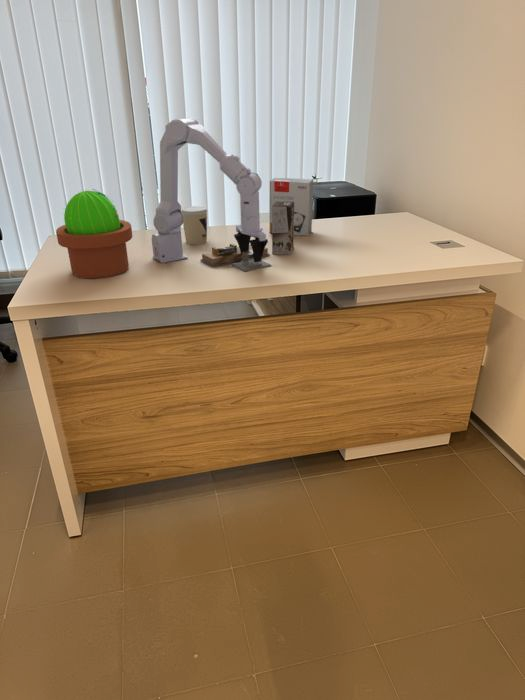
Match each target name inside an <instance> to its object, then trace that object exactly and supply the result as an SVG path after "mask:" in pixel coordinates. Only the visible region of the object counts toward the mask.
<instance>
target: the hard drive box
mask: <svg viewBox="0 0 525 700" xmlns="http://www.w3.org/2000/svg"><path fill="white" fill-rule="evenodd" d="M313 197H314V179H313V178H311V179H309V178H287V177H286V178H285V177H274V178H271V180H269V234H272V206H273V205H274V204H275V203H276V202H283V201H290V202H294V236H304V237H308V236H309V235H310V234H311V232H312V229H313V228H312V227H313V225H312V224H313V203H314V202H313V201H314V198H313Z"/></svg>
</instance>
